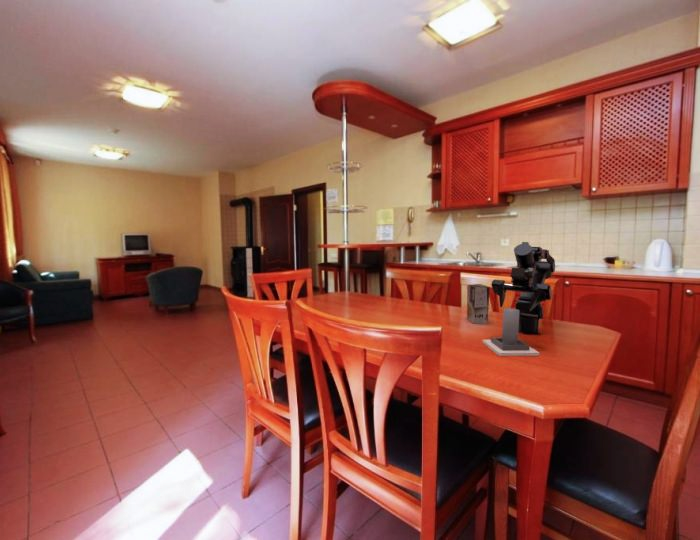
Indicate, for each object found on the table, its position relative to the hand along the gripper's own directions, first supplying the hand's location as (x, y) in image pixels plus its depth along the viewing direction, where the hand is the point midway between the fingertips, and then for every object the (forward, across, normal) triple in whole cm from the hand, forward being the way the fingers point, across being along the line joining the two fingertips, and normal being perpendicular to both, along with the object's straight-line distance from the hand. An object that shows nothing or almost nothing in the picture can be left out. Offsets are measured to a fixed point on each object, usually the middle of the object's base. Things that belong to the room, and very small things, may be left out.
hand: (514, 308), depth 114 cm
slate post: (+12, 0, +6) cm, 13 cm away
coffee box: (-7, -21, +26) cm, 35 cm away
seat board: (+12, 0, +6) cm, 14 cm away
